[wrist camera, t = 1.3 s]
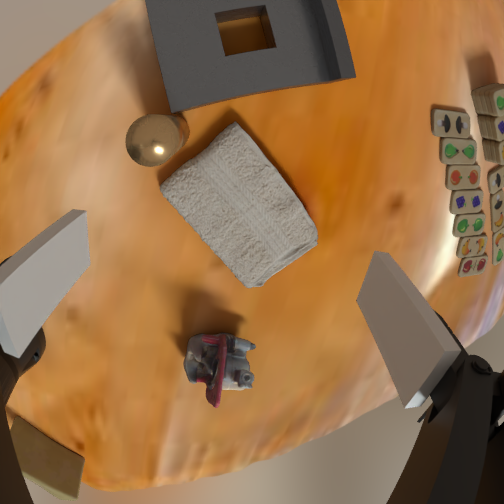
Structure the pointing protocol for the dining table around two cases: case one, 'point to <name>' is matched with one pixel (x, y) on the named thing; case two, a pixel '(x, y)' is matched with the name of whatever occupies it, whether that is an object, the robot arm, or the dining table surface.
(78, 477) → the cheese
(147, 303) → the dining table surface
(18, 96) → the dining table surface
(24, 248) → the robot arm
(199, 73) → the jig
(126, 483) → the dining table surface
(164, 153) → the tan cylinder
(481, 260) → the pile of dominoes
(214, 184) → the washcloth
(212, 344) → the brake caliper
